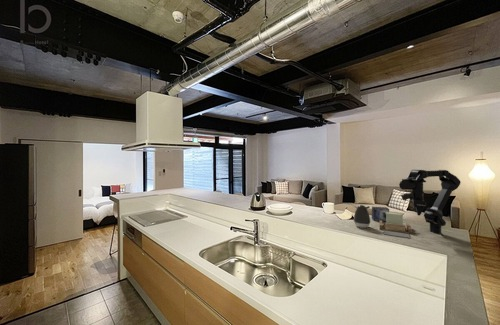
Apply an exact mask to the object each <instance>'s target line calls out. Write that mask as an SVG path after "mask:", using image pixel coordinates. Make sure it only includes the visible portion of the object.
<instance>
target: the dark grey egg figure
mask: <svg viewBox="0 0 500 325" xmlns="http://www.w3.org/2000/svg"><path fill="white" fill-rule="evenodd" d="M368 209H370V206H365V205H363V204H359V205H358V206H357V207H356V210H355V211H354V215H353V216H354V217H353V222H354V224H355V226H357V227H358V228H361V229H367V228H368V227H369V226H370V224H371V217H370V213H369V211H368Z"/></svg>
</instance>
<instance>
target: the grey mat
mask: <svg viewBox="0 0 500 325" xmlns="http://www.w3.org/2000/svg"><path fill="white" fill-rule="evenodd" d="M383 235H384V236H390V237H396V238H403V239H411V237H410V234H405V233H398V232H390V231H383Z"/></svg>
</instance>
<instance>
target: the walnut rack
mask: <svg viewBox="0 0 500 325" xmlns="http://www.w3.org/2000/svg"><path fill="white" fill-rule="evenodd" d="M378 222H379V230H381V231H383V232H384V231H390V232H397V233H405V234H409V235H413V228H412V227H411V224H410V223H407V222H406V223H405V224H406V225H405V232H404V231H397V230H389V229H385V223H383V222H382V220H379V221H378Z"/></svg>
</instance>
